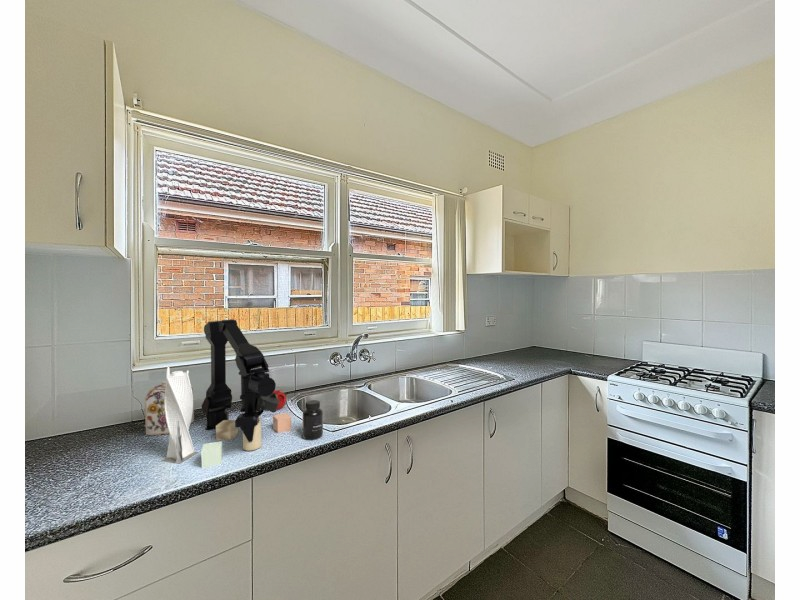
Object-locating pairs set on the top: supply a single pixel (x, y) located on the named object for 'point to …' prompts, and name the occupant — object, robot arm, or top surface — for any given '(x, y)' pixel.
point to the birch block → (226, 430)
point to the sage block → (211, 454)
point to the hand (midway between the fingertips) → (252, 437)
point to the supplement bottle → (312, 420)
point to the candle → (256, 439)
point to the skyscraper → (178, 416)
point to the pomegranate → (281, 398)
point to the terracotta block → (282, 422)
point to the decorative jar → (157, 411)
